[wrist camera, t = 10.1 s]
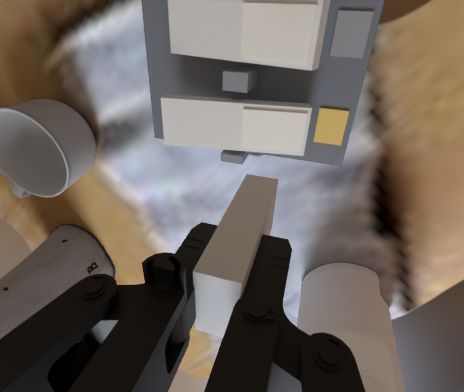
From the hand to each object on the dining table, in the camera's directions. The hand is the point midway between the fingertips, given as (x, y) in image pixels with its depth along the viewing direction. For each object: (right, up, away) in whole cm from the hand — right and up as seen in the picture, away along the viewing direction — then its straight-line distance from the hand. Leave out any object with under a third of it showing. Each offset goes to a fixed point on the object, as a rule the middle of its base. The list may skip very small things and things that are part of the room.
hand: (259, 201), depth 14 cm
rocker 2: (-1, +6, +10) cm, 12 cm away
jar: (+14, -13, +25) cm, 32 cm away
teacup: (-23, +8, +26) cm, 36 cm away
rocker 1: (-1, +12, +7) cm, 14 cm away
